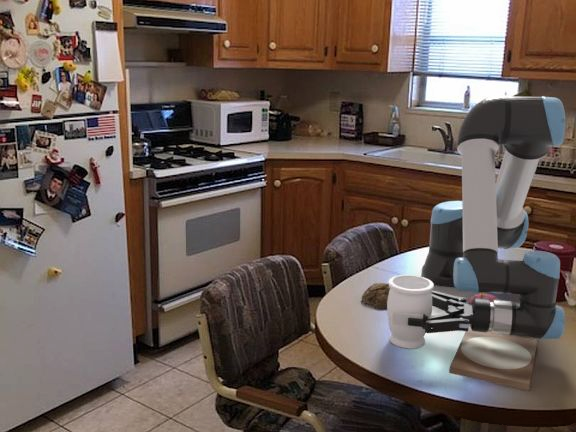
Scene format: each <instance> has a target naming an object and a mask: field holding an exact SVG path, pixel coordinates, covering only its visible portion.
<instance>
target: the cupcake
mask: <svg viewBox="0 0 576 432" xmlns="http://www.w3.org/2000/svg"><path fill="white" fill-rule="evenodd" d="M474 298H478V299H488V300H489V301H490V302H492V301H493V300H501V299H500V297H497V296H496V295H494V294H492V293H477V294H476V293H475V294H474V295H471V296H470V298H469V299H468V301H467V304H470V305H471V304H472V301H473V299H474Z"/></svg>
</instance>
